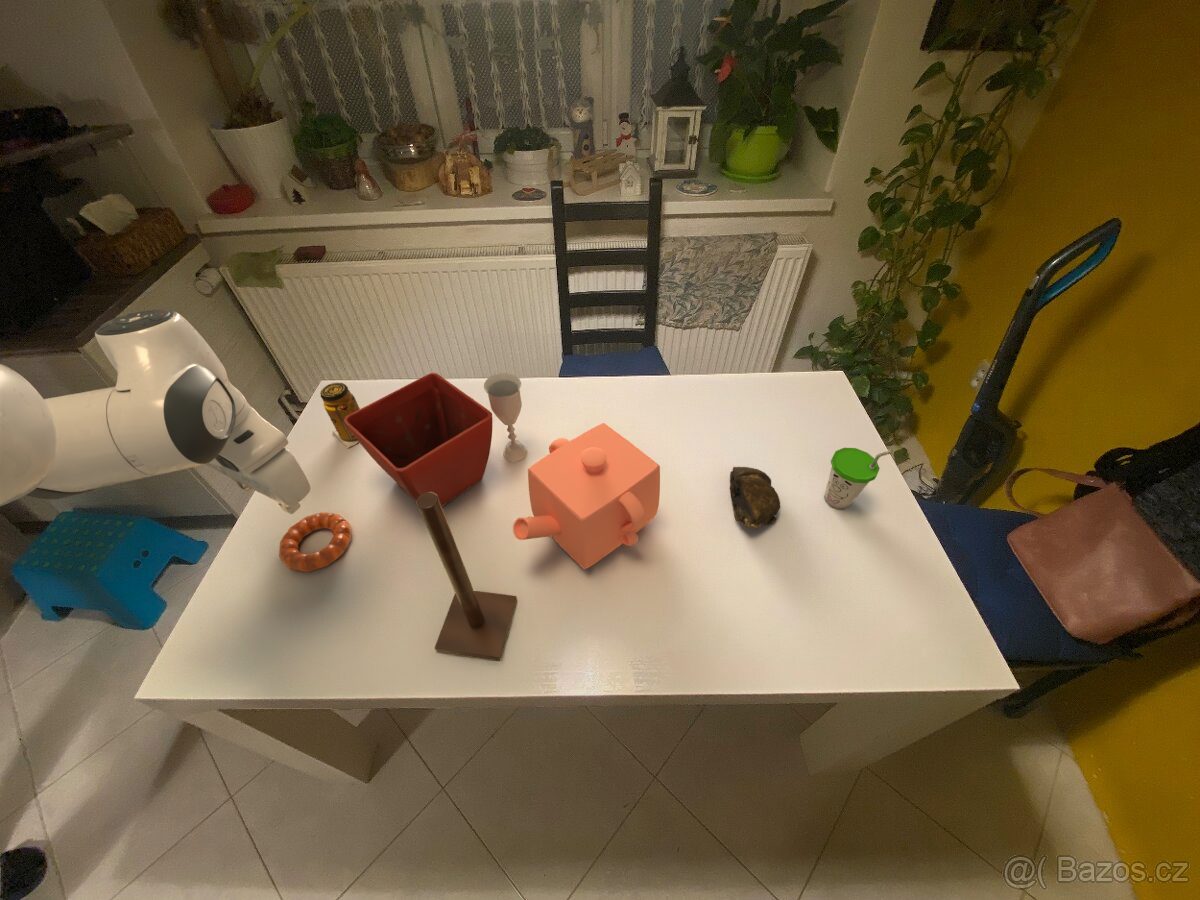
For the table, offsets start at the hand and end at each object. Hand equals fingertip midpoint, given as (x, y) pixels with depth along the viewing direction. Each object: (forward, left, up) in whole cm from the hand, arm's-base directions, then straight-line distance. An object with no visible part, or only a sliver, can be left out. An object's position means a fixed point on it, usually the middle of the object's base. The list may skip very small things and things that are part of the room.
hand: (270, 497), depth 74 cm
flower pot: (+22, -13, -19) cm, 32 cm away
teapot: (+13, -43, -19) cm, 49 cm away
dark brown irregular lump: (+24, -74, -19) cm, 80 cm away
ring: (+4, +3, -18) cm, 18 cm away
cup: (+27, -90, -19) cm, 96 cm away
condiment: (+33, +10, -19) cm, 39 cm away
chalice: (+31, -26, -19) cm, 45 cm away
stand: (-7, -30, -19) cm, 36 cm away
